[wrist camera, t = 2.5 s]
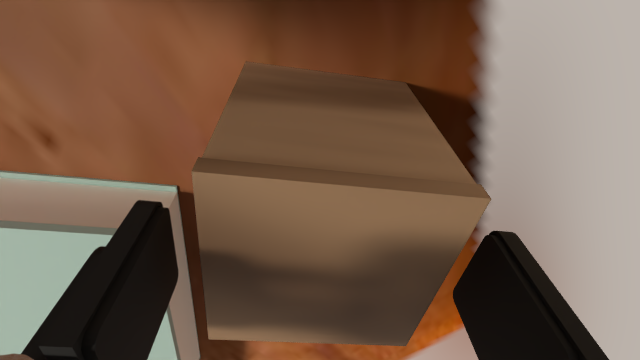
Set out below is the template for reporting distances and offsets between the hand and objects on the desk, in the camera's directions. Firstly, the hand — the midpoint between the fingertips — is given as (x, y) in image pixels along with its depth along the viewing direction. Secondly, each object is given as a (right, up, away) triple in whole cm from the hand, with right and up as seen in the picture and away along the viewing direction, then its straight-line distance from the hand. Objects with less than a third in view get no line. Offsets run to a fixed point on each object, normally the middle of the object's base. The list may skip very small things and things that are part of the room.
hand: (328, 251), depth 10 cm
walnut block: (0, +4, +4) cm, 6 cm away
